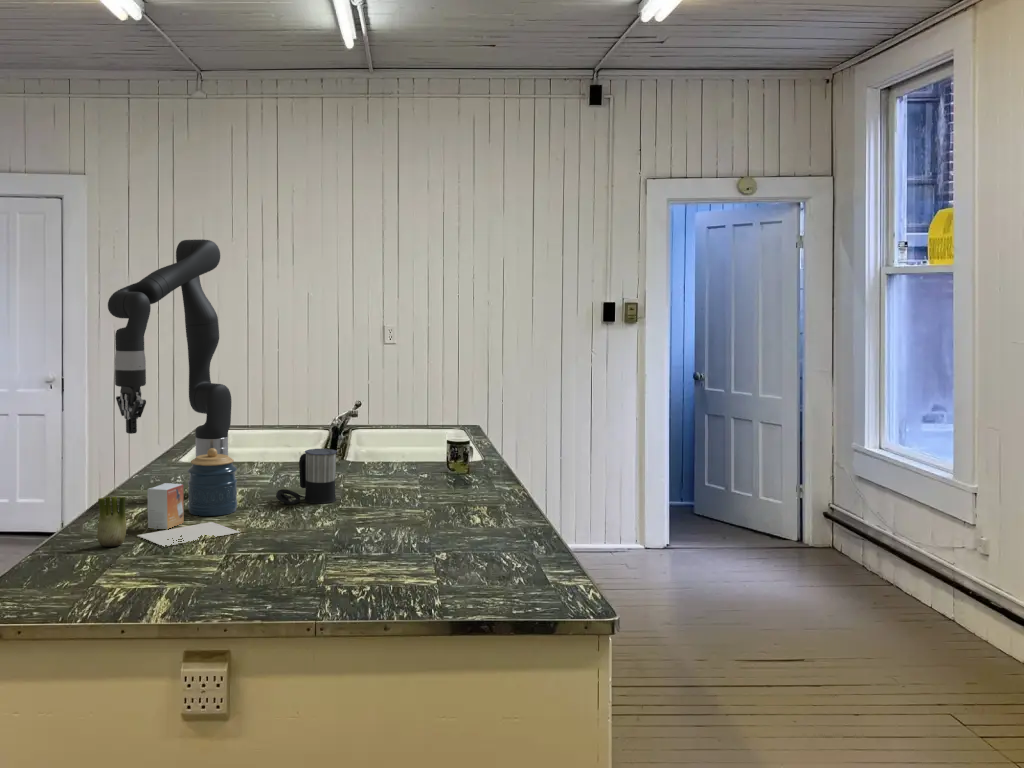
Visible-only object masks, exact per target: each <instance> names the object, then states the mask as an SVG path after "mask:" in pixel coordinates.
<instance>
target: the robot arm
mask: <svg viewBox="0 0 1024 768" xmlns="http://www.w3.org/2000/svg"><path fill="white" fill-rule="evenodd" d="M175 261H176V262H175V263H172V264H169V265H165V266H163V267H161V268H159V269H156V270H154V271H152V272H151V273H149V274H148V275H146V276H145V277H143V278H142V279H140V281H137V282H135V283H132V284H129V285H126V286H125V287H122V288H120V289H118V290H116V291H115V292H113V293H112V294H111V296H110V297H109V299H108V302H107V309H108V312H109V313H110V314H111V316H113V317H115V318H118V319H128V320H127V323H126V325H125V327H124V326H123V327H120V328H118V329H117V330H116V331H115V335H114V337H115V338H114V340H115V341H114V342H115V345H114V346H115V353H114V354H115V355H114V384H115V386H116V387H118V388H119V387H120V391H119V392H120V394H119V396H118V395H117V396H116V397H115V400H116V403H117V406H118V410H119V412H120V415H121V417H123V418H124V419H125V432H126V434H131V435H132V434H137V431H138V428H137V427H138V424H137V423H138V421H137V420H138V419H139V418H141V417H142V415H143V412H144V410H145V406H146V404H147V400H146V399H142V390H141V387H144V386H146V385H147V374H146V373H147V371H146V369H147V367H146V366H147V365H146V362H147V361H146V353H145V333H146V329H147V328H148V327H147V326H148V322H149V318H150V315H151V308H152V307H151V305H154V304H156V303H158V302H159V301H160V300H162V299H163V298H165V297H166V296H168V295H169V294H170V293H173V292H174V291H175V290H176V289H178V288H179V287H181V288H180V289H181V294H182V301H183V302H182V303H183V311H184V324H185V336H186V343H187V355H188V400H189V404H190V408H192V410H193V411H194V412H196V413H198V414H203V415H204V414H206V419H205V423H204V424H202V425H199V426H197V427H196V429H195V432H194V433H195V458H196V457H197V456H200V455H206V454H207V452H208V450H209V449H210V448H215V449H216V450H217V454H224V455H228V456H229V430H230V427H231V423H232V394H231V390H230V389H229V388H228V387H227V385H225V384H222V383H214V382H213V383H212V381H211V371H210V369H211V361H212V359H213V357H214V354H215V352H216V350H217V347H218V344H219V341H220V327H219V317H218V314H217V312H216V309H215V308H214V306H213V304H212V303H211V302H210V300H209V299H208V297H207V296H206V294H205V292H204V290H203V287H202V285H201V284H202V283H201V280H200V279H201V278H200V276H202V275H204V274H207V273H209V272H211V271H213V270H215V269H216V268H217V267H218V265H219V263H220V261H221V250H220V248H219V245H218V244H217V243H216V242H214V241H213V240H210V239H184V240H181V241H180V242H179V243H178V244H177V247H176V250H175Z"/></svg>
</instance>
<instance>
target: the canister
mask: <svg viewBox="0 0 1024 768" xmlns="http://www.w3.org/2000/svg"><path fill="white" fill-rule="evenodd" d="M233 463H234V459H233V458H232V457H230V456H229V454H228V455H224V454H217V450H216V449H215V448H210V449H209V450H208V452H207V454H206V455H200V456H197V457H196V456H195V458H192V460H190V464H192V465H191V467H189V468H188V469H187V473H189V479H188V481H187V484H188V492H187V493H188V503H187V508H188V513H189V514H191V515H194V516H198V515H199V517H200V516H201V517H218V516H224V515H230V514H232V513H235V512H236V511H237V507H238V500H237V492H238V491H237V489H238V488H237V483H238V479H237V478H236V471H237V470H238V468H237V466H235V465H234V464H233Z"/></svg>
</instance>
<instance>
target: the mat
mask: <svg viewBox="0 0 1024 768" xmlns="http://www.w3.org/2000/svg"><path fill="white" fill-rule="evenodd" d="M234 533H240V534H241V531H239V530H235V529H233V528H230V527H227V526H224V525H222V524H219V523H217V522H213V521H209V522H202V523H197V524H193V525H187V526H186V525H185V526H180V527H174V528H171V529H169V530H159V531H154V532H147V533H142V534H137V535H136V537H137V538H139V537H140V538H139V539H141V538H143V539H142V540H144V539H146V540H149V541H151V542H153V543H156V544H159V545H162V546H164V547H165V545H167V546H170V545H171V544H172V545H176V544H178V543H186V542H188V541H190V542H191V541H193V540H194V541H195V540H197V539H198V540H199V538H198V537H200V536H201V535H202V536H203V535H204V534H205V535H209V536H212V535H214V536H215V537H217V536H224V535H230V534H234ZM181 535H182V537H180V536H181ZM230 536H231V535H230ZM172 538H173V539H172ZM182 538H183V539H182ZM167 539H169V540H167ZM178 539H182V540H178ZM146 540H145V541H146ZM173 540H174V541H173ZM176 540H177V541H176ZM183 540H184V541H183ZM178 541H182V542H178ZM151 542H150V543H151ZM173 542H174V543H173ZM153 543H152V544H153Z"/></svg>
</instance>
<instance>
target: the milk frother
mask: <svg viewBox="0 0 1024 768" xmlns="http://www.w3.org/2000/svg"><path fill="white" fill-rule="evenodd" d="M337 452H338V451H337V450H336V449H331V448H310V449H306V450H305V451H304V453H302V454H301V455H300V457H299V460H298V461H299V462H298V464H299V466H298V467H299V470H298V471H299V486H300V489H305V493H304V496H303V495H301V494H299V493H297V492H295V491H292V490H290V489H279V490H277V492H276V494H275V497H276V499H277V500H278V501H279V502H281V503H282V504H284V505H297V504H299V503H300V501H301V498H302V499H303V500H304V502H305V503H306V502H307V503H309V504H320V503H321V504H330V502H331V503H334V502H336V501H337V498H336V468H337V467H336V465H337V459H336V458H337ZM292 497H293V498H295V499H293V500H292Z"/></svg>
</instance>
